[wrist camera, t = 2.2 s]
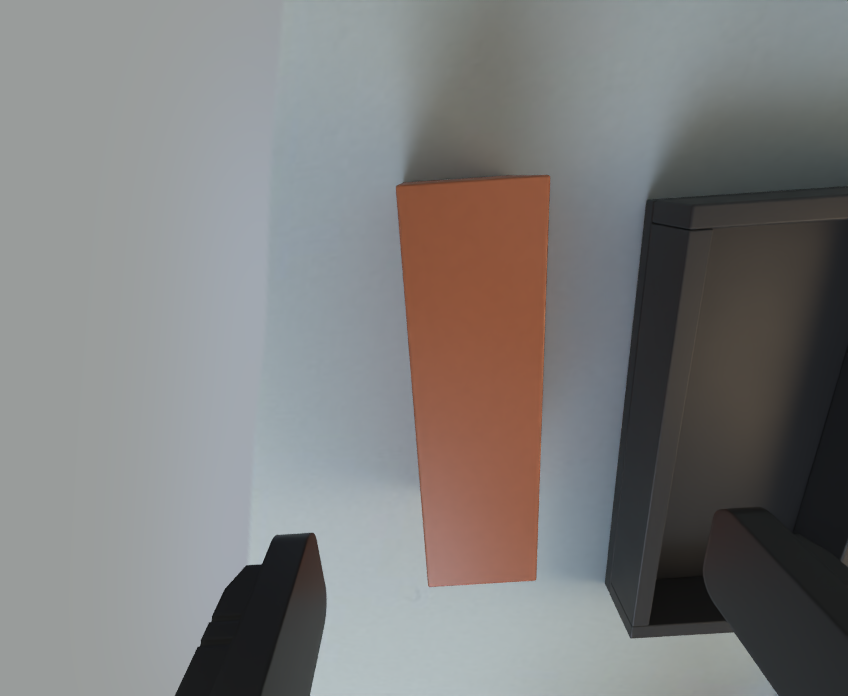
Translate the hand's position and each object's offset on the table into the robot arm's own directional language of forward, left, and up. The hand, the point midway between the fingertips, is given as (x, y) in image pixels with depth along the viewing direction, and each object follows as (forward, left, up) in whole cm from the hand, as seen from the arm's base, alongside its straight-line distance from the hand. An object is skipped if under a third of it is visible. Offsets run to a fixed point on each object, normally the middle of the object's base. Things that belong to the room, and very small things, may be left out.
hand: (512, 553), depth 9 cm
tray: (+4, +12, -11) cm, 17 cm away
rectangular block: (0, 0, -11) cm, 11 cm away
